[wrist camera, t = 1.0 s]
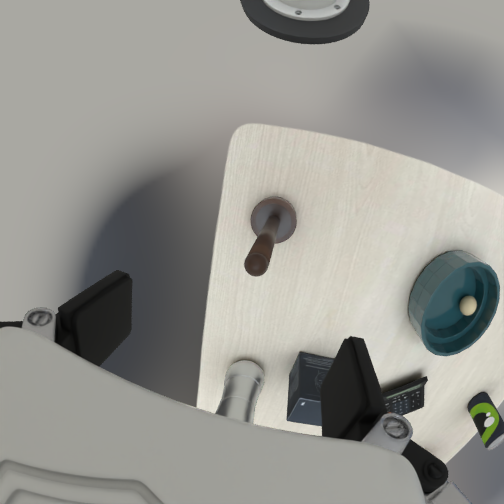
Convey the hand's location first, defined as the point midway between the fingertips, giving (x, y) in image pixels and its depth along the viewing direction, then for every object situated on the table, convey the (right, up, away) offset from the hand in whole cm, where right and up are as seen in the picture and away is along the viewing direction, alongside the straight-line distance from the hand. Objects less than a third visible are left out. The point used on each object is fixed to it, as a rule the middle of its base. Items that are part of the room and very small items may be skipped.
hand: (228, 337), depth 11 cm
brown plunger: (+4, +8, +25) cm, 26 cm away
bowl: (+32, -3, +24) cm, 40 cm away
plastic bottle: (0, -17, +33) cm, 37 cm away
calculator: (+30, -24, +31) cm, 50 cm away
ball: (+35, -5, +22) cm, 42 cm away
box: (+12, -16, +31) cm, 37 cm away
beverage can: (+55, -32, +29) cm, 70 cm away
